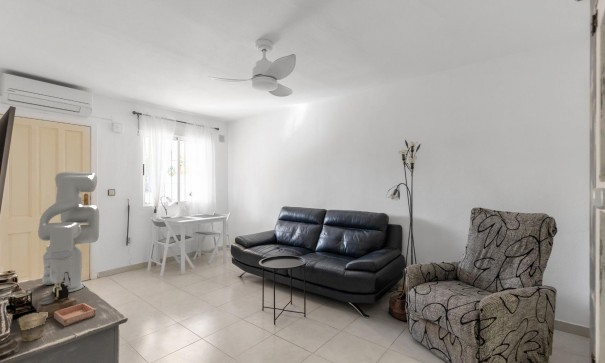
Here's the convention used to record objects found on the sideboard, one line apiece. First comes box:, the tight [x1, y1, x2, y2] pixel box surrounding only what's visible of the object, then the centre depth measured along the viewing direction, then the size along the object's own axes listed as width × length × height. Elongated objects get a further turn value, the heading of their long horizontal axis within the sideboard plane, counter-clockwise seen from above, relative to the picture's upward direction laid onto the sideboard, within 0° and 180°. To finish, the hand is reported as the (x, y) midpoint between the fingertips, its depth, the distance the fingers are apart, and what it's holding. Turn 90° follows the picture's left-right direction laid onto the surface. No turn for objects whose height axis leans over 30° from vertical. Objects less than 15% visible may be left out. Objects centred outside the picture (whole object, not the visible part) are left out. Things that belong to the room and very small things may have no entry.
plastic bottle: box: [42, 245, 55, 286], centre depth 147 cm, size 6×7×20 cm
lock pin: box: [54, 284, 66, 303], centre depth 120 cm, size 4×4×11 cm
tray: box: [53, 302, 96, 327], centre depth 113 cm, size 11×10×2 cm
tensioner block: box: [36, 294, 77, 319], centre depth 118 cm, size 10×10×6 cm
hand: (61, 296), depth 120 cm, fingers closed on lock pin, 3 cm apart
